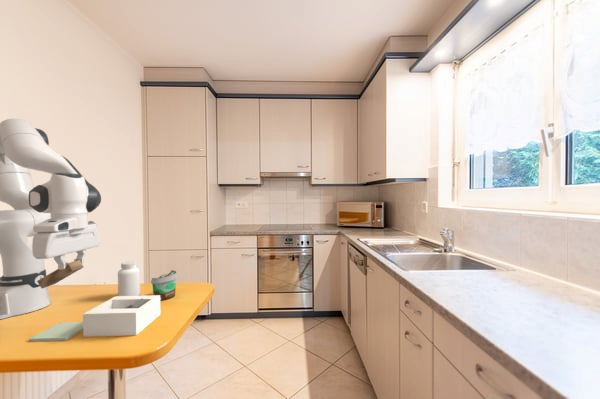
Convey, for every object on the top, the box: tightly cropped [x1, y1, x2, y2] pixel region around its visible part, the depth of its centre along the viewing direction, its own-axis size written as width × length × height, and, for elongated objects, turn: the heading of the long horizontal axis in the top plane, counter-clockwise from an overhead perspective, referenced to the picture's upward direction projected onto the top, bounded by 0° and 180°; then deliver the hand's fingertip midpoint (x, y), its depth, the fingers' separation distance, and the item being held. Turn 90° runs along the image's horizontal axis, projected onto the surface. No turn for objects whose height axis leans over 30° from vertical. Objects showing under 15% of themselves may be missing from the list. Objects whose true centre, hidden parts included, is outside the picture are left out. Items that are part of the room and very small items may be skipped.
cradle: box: [124, 298, 145, 309], centre depth 85 cm, size 12×5×2 cm, turn 91°
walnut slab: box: [37, 260, 84, 288], centre depth 81 cm, size 11×4×3 cm, turn 91°
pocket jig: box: [82, 294, 162, 337], centre depth 85 cm, size 16×14×7 cm
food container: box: [150, 270, 179, 302], centre depth 108 cm, size 12×6×10 cm, turn 168°
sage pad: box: [28, 321, 83, 342], centre depth 81 cm, size 11×10×1 cm
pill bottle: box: [117, 260, 141, 296], centre depth 110 cm, size 8×8×15 cm
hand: (71, 266), depth 81 cm, fingers closed on walnut slab, 4 cm apart
